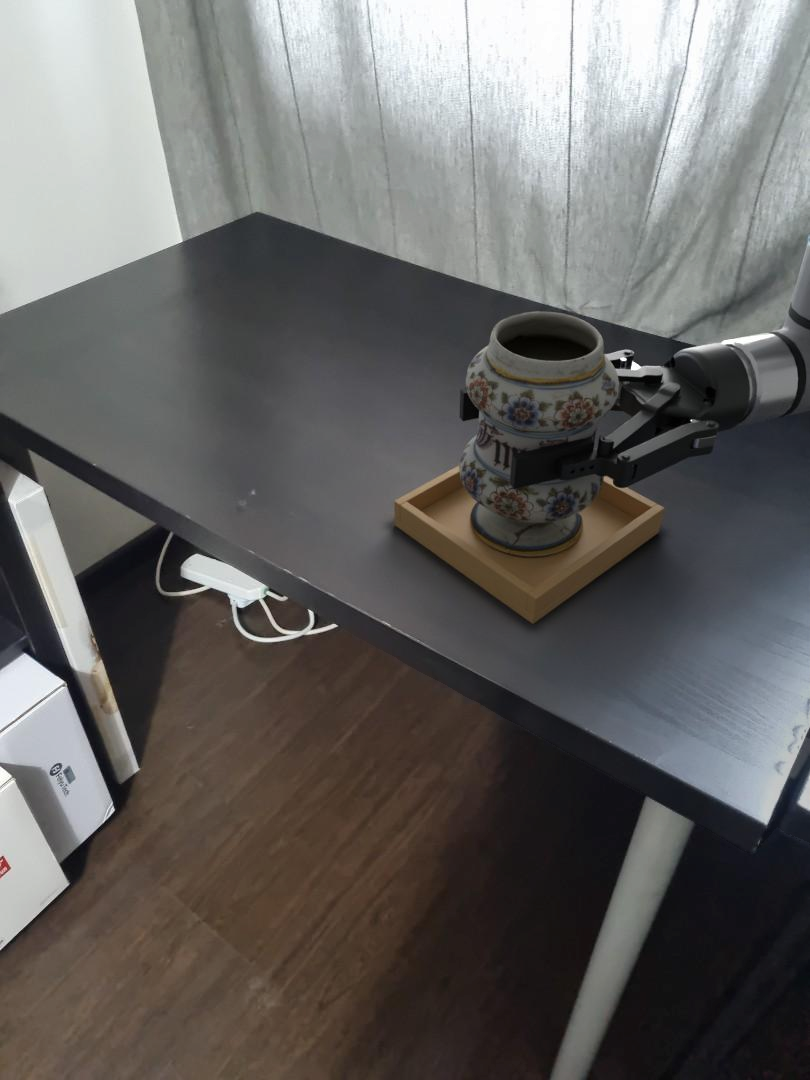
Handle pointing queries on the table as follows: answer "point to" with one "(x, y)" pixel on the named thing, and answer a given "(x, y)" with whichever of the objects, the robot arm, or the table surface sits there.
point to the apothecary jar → (534, 428)
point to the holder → (527, 581)
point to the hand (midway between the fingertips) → (485, 436)
